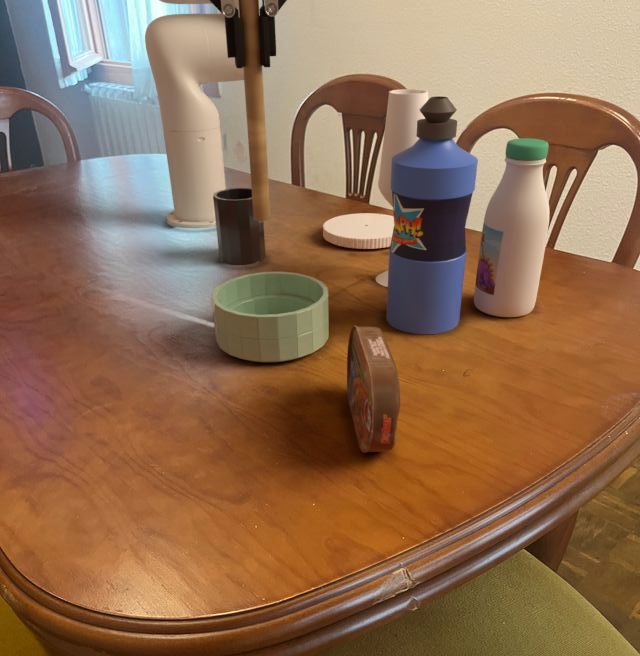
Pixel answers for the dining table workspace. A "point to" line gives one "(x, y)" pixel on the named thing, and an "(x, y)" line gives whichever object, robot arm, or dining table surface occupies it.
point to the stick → (255, 108)
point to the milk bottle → (514, 234)
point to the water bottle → (429, 225)
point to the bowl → (271, 316)
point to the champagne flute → (398, 138)
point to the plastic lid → (360, 230)
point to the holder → (238, 227)
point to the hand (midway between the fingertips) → (252, 64)
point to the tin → (372, 389)
